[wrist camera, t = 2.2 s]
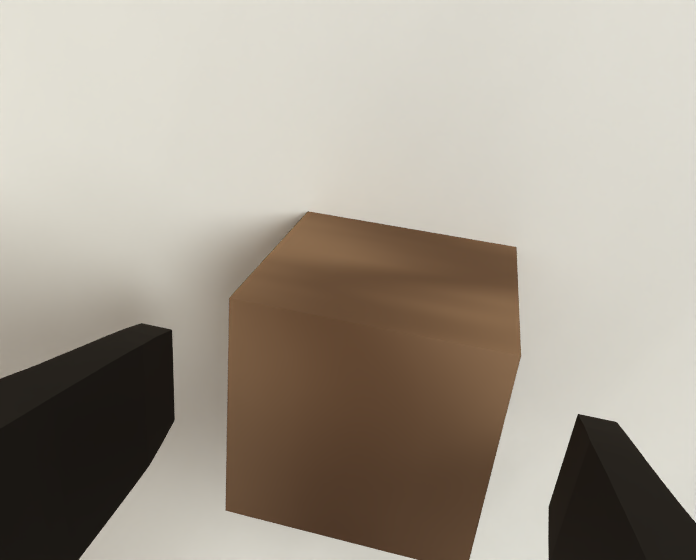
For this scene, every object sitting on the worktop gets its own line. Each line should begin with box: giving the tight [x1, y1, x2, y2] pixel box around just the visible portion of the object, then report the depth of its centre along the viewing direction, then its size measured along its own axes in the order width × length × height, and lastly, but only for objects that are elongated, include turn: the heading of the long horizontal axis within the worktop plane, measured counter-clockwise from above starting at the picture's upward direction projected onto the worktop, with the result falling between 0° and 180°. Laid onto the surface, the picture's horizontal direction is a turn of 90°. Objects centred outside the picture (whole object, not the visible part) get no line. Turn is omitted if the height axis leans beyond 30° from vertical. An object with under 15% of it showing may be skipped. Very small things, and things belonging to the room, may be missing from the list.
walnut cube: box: [226, 212, 521, 560], centre depth 12 cm, size 4×4×4 cm
